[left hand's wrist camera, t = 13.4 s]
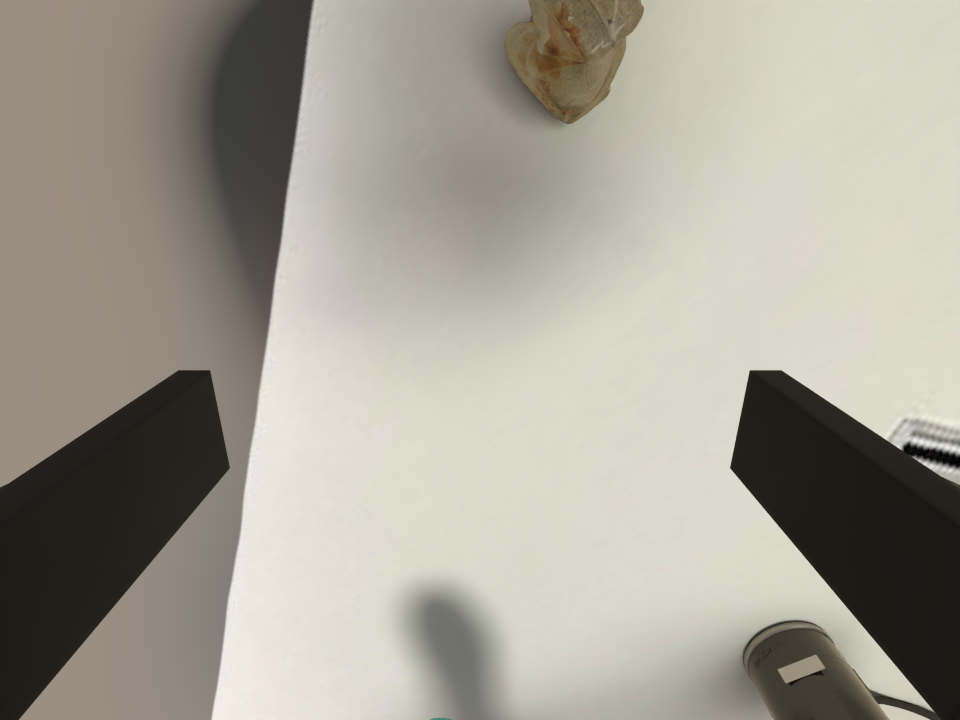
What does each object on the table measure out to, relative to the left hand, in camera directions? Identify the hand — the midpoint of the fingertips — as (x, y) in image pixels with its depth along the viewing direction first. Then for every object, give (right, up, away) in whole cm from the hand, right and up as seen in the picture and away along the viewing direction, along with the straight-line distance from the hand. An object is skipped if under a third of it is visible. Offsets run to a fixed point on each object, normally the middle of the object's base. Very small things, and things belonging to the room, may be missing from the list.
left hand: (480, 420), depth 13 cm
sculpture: (+5, +22, +23) cm, 32 cm away
